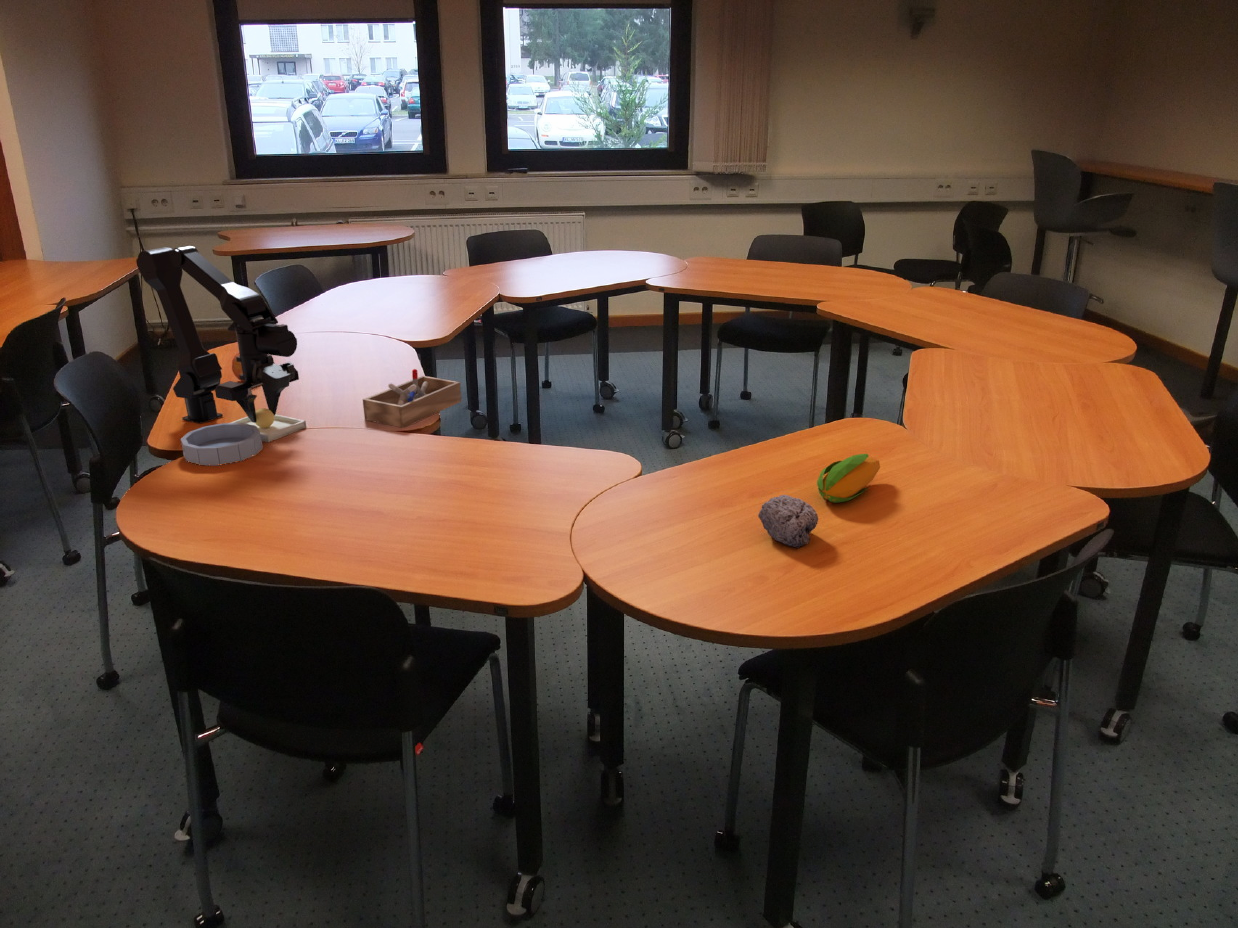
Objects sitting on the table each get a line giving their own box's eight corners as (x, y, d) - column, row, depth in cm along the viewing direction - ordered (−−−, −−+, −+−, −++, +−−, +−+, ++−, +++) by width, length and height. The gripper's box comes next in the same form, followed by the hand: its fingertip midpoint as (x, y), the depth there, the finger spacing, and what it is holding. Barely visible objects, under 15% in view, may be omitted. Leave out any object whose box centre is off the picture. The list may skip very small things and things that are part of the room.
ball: (250, 428, 204) (247, 410, 202) (266, 422, 207) (263, 404, 205) (264, 431, 202) (261, 413, 200) (279, 425, 205) (277, 407, 203)
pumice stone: (821, 561, 152) (810, 521, 160) (829, 527, 148) (817, 488, 155) (760, 560, 152) (752, 520, 160) (766, 526, 147) (758, 487, 155)
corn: (809, 465, 166) (861, 436, 179) (803, 502, 169) (855, 471, 183) (845, 478, 161) (896, 448, 175) (838, 516, 164) (889, 483, 178)
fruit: (268, 376, 243) (264, 347, 240) (261, 385, 236) (257, 355, 233) (238, 377, 242) (233, 348, 239) (230, 386, 235) (225, 356, 232)
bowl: (169, 457, 189) (165, 440, 188) (228, 435, 201) (225, 419, 200) (218, 470, 182) (215, 453, 181) (276, 446, 195) (274, 430, 193)
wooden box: (364, 419, 211) (362, 399, 209) (424, 394, 228) (422, 375, 227) (403, 427, 206) (401, 407, 204) (461, 401, 223) (459, 382, 222)
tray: (224, 431, 203) (223, 425, 203) (262, 417, 212) (261, 411, 212) (268, 442, 197) (267, 435, 196) (306, 427, 206) (305, 420, 205)
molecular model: (415, 424, 208) (421, 383, 205) (380, 415, 208) (386, 374, 205) (438, 407, 225) (444, 368, 222) (405, 399, 225) (411, 360, 222)
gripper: (244, 367, 187) (256, 437, 193) (312, 346, 202) (320, 412, 208) (207, 360, 191) (220, 429, 197) (276, 340, 207) (285, 405, 213)
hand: (263, 418), depth 204 cm, fingers open, 5 cm apart
